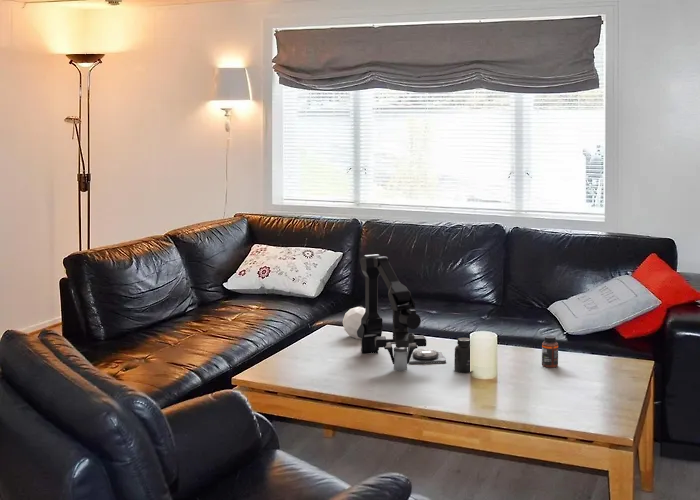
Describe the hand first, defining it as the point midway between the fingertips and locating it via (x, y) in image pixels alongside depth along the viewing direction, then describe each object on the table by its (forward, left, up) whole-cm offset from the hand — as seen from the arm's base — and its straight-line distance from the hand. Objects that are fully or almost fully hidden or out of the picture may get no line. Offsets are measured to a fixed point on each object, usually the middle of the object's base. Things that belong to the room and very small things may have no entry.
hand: (400, 363), depth 305 cm
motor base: (+11, +12, -2) cm, 16 cm away
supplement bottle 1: (+23, -4, -2) cm, 23 cm away
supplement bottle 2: (+56, -1, -2) cm, 56 cm away
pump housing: (0, 0, -2) cm, 2 cm away
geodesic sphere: (-13, +46, -2) cm, 48 cm away
